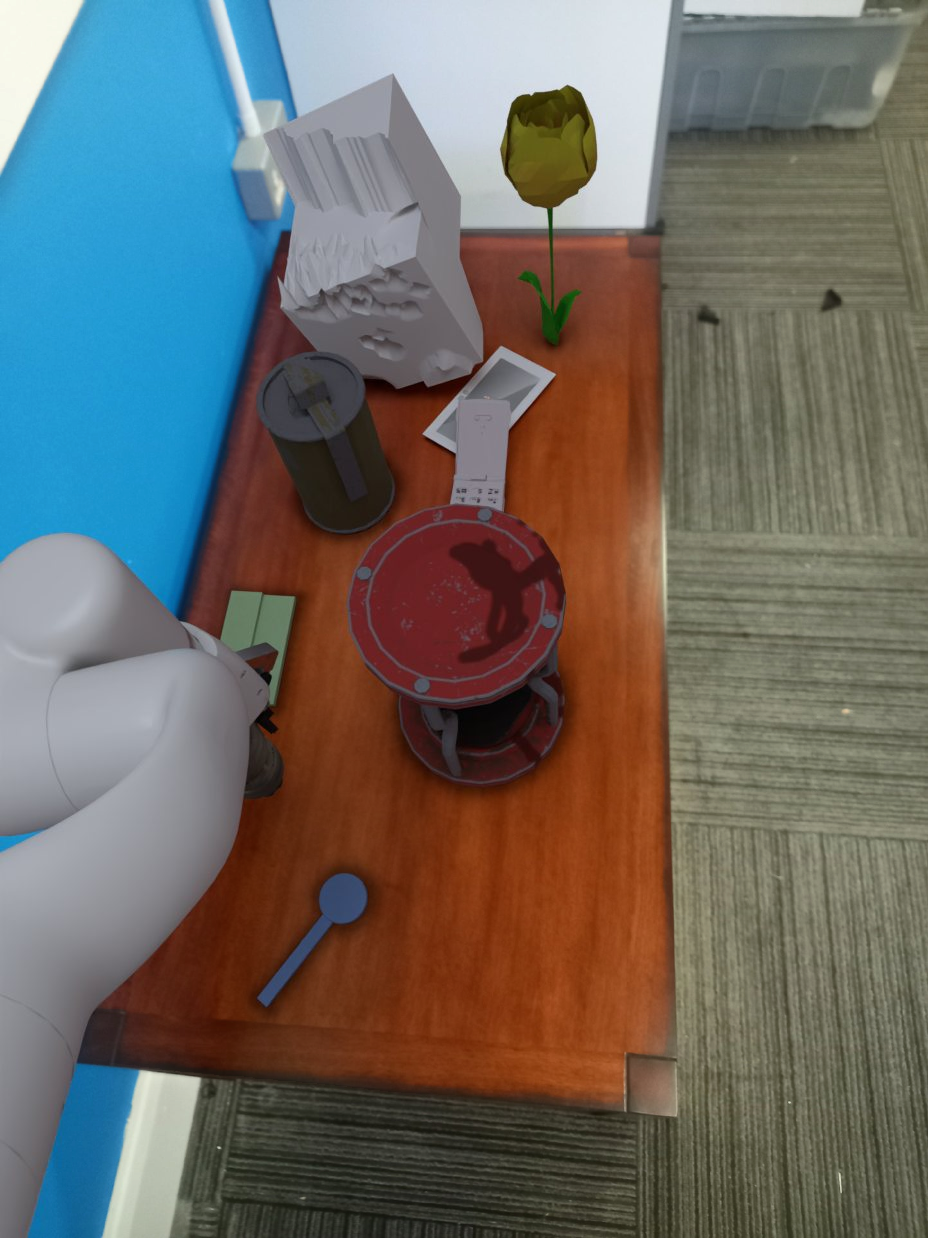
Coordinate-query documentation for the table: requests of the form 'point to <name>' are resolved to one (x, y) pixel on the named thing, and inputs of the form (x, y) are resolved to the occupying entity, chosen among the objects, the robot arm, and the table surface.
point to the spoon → (322, 926)
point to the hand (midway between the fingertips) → (236, 751)
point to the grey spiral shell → (262, 766)
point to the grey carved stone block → (376, 240)
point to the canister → (327, 440)
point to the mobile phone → (481, 452)
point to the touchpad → (494, 391)
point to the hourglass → (465, 638)
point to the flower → (549, 169)
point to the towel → (260, 627)
